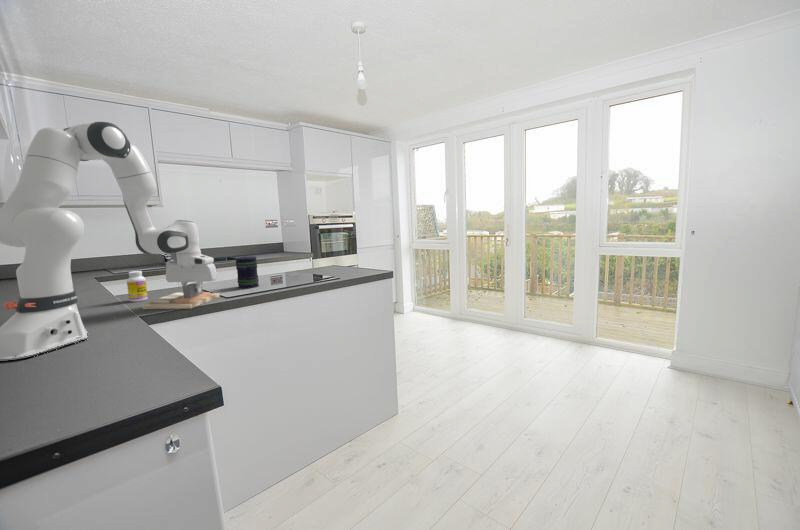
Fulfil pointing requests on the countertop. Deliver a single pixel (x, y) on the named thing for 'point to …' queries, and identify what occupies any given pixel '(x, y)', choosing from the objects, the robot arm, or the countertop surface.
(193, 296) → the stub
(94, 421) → the countertop surface
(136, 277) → the supplement bottle
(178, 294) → the ticket board
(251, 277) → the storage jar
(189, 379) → the countertop surface
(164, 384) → the countertop surface
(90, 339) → the countertop surface
